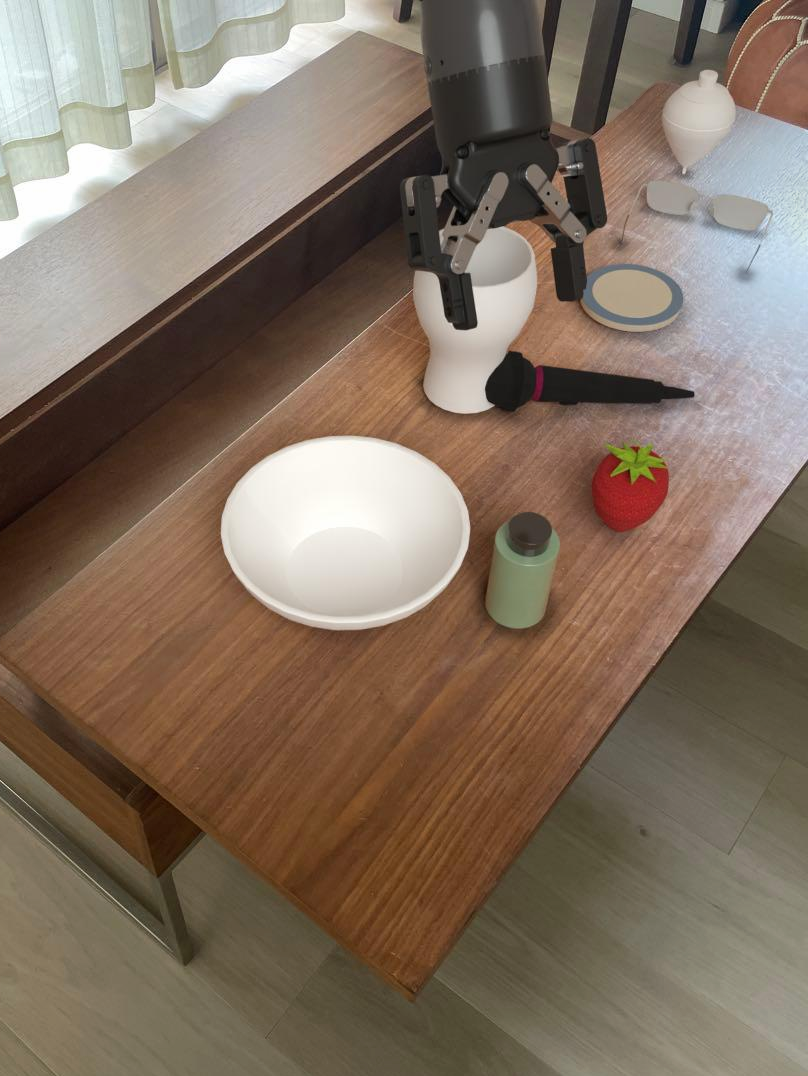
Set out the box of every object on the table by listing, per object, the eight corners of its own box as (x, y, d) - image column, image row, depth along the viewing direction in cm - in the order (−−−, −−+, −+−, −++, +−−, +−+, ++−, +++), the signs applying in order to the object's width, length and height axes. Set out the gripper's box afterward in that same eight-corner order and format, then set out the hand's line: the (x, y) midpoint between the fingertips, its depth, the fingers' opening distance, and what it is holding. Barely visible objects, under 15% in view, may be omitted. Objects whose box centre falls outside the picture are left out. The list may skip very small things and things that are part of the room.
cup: (425, 433, 101) (435, 301, 89) (395, 360, 108) (400, 228, 96) (536, 414, 102) (560, 280, 90) (499, 342, 108) (517, 210, 97)
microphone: (675, 410, 106) (470, 395, 105) (692, 354, 103) (481, 338, 102) (694, 435, 101) (479, 420, 101) (712, 377, 98) (491, 361, 97)
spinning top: (666, 196, 124) (691, 95, 115) (638, 161, 129) (660, 62, 120) (730, 185, 125) (760, 84, 115) (699, 151, 130) (726, 51, 120)
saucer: (684, 283, 114) (687, 271, 112) (674, 344, 108) (678, 331, 106) (586, 269, 116) (588, 257, 115) (571, 327, 110) (574, 315, 109)
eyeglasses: (766, 234, 118) (776, 203, 115) (747, 281, 114) (758, 250, 111) (637, 206, 123) (644, 175, 120) (615, 249, 119) (621, 219, 116)
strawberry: (568, 546, 92) (587, 462, 84) (598, 487, 96) (620, 403, 88) (637, 571, 90) (664, 488, 82) (665, 510, 94) (693, 426, 86)
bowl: (402, 712, 82) (406, 661, 77) (183, 617, 89) (173, 565, 84) (499, 535, 93) (508, 480, 88) (296, 463, 100) (293, 408, 95)
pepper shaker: (550, 589, 89) (568, 511, 82) (540, 635, 86) (557, 558, 79) (491, 575, 90) (504, 498, 83) (479, 621, 87) (491, 544, 80)
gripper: (416, 73, 65) (458, 342, 70) (612, 34, 69) (639, 291, 74) (361, 93, 72) (403, 337, 77) (543, 57, 76) (572, 290, 81)
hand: (519, 314), depth 75 cm, fingers open, 8 cm apart
